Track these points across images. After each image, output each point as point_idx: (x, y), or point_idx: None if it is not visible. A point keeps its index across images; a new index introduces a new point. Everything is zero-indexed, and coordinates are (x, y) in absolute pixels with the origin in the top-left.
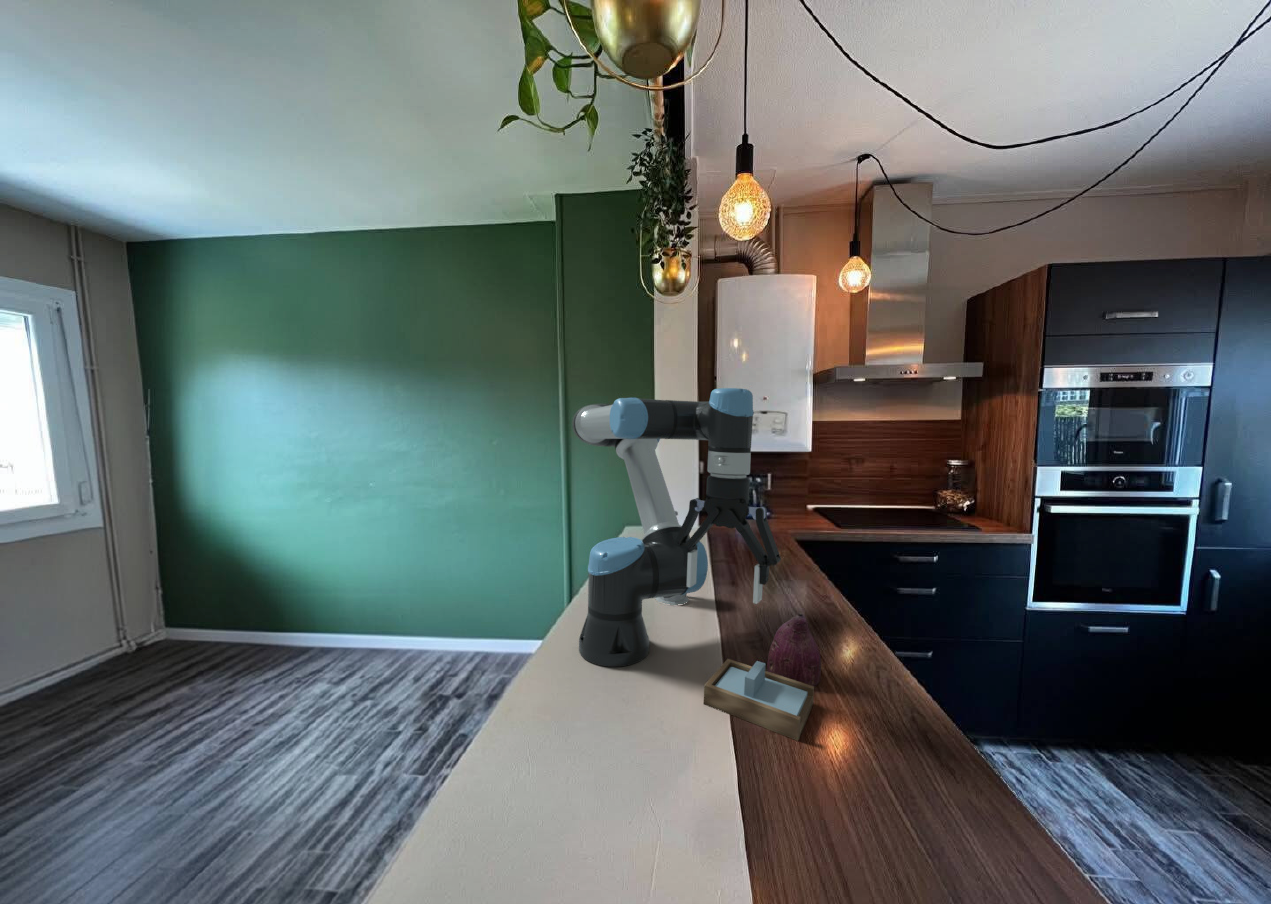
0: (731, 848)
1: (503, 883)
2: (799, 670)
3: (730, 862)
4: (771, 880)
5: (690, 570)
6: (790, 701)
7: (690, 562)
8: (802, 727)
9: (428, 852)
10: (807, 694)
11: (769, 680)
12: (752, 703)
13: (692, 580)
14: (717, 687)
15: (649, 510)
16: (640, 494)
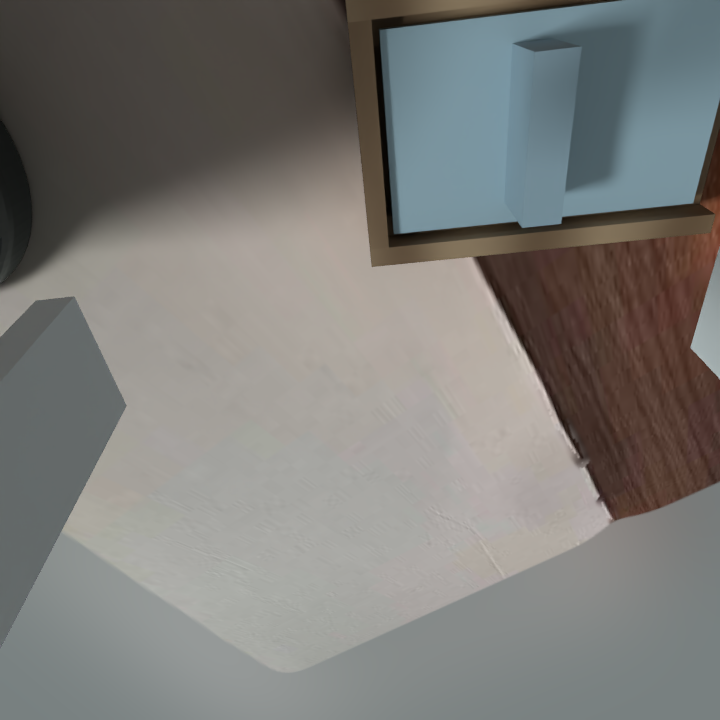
0: (577, 501)
1: (362, 635)
2: None
3: (581, 514)
4: (640, 505)
5: (56, 531)
6: (673, 120)
7: (8, 620)
8: None
9: (270, 654)
10: None
11: (572, 18)
12: (551, 248)
13: (88, 405)
14: (416, 248)
15: None
16: None
